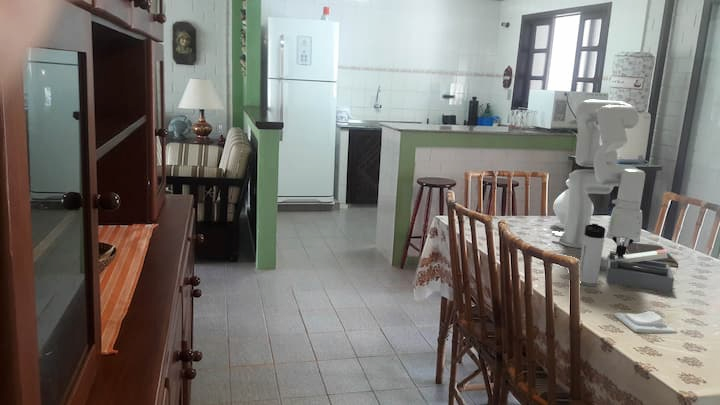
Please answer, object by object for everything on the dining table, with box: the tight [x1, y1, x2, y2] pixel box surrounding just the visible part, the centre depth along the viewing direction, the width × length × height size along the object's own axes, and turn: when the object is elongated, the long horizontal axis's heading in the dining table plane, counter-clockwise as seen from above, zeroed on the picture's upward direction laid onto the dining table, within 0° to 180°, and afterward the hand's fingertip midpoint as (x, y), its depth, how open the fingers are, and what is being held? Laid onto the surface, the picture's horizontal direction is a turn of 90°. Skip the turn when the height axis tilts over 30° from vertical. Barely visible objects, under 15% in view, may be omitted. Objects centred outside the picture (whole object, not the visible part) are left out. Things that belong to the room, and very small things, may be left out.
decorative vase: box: [552, 172, 595, 230], centre depth 267 cm, size 18×18×25 cm
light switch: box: [613, 310, 679, 334], centre depth 162 cm, size 11×4×13 cm
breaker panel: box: [605, 250, 675, 294], centre depth 199 cm, size 20×16×7 cm
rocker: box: [615, 248, 668, 263], centre depth 198 cm, size 16×5×2 cm, turn 67°
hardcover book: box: [621, 241, 679, 268], centre depth 230 cm, size 16×23×2 cm
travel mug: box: [579, 223, 606, 287], centre depth 191 cm, size 6×7×20 cm
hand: (620, 255), depth 200 cm, fingers closed
